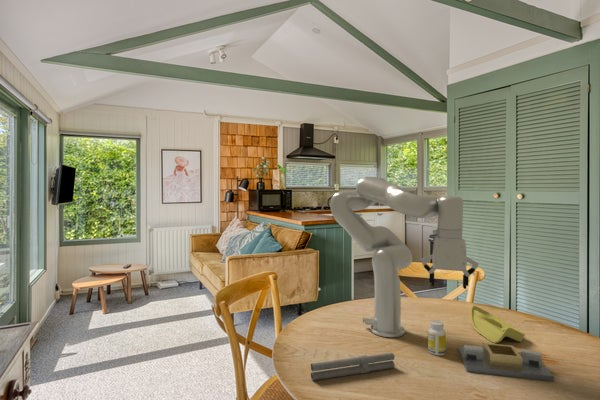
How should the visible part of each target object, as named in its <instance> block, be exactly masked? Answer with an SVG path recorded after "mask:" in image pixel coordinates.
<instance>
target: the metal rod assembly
mask: <svg viewBox="0 0 600 400" xmlns="http://www.w3.org/2000/svg"><path fill="white" fill-rule="evenodd" d="M395 356H396V355H395V354H394V353H393V352H387V353H380V354H373V355H372V354H371V355H359V356H355V357H350V358H342V359H335V360H327V361H321V362H319V361H318V362H315V363H314V362H313V363H310V369H311V372H310V378H311V380H312V381H317V380H323V379H330V378H337V377H343V376H345V377H346V376H352V375H357V374H363V373H364V374H368V373H369V372H376V371H381V370H382V371H383V370H388V369H393V368H395V362H394V360H395Z"/></svg>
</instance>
